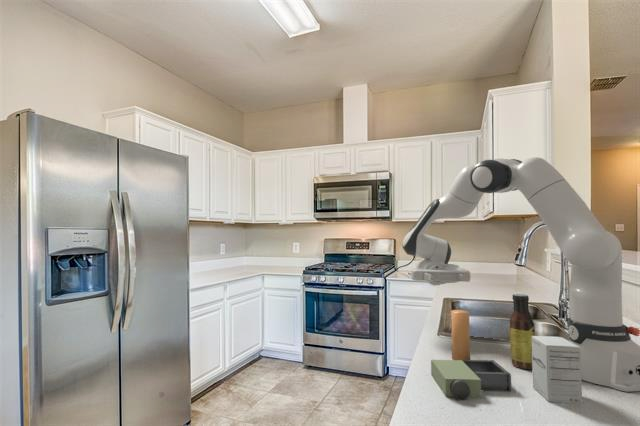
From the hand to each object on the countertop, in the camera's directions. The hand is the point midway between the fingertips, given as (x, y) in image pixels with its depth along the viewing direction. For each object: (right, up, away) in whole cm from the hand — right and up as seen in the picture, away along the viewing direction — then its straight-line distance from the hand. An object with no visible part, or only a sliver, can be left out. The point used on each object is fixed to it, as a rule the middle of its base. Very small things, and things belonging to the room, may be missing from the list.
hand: (446, 278), depth 116 cm
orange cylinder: (-1, -22, -13) cm, 26 cm away
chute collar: (-1, -21, -29) cm, 36 cm away
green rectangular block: (-9, -21, -31) cm, 38 cm away
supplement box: (+12, -21, -36) cm, 43 cm away
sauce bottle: (+15, -22, -18) cm, 32 cm away
